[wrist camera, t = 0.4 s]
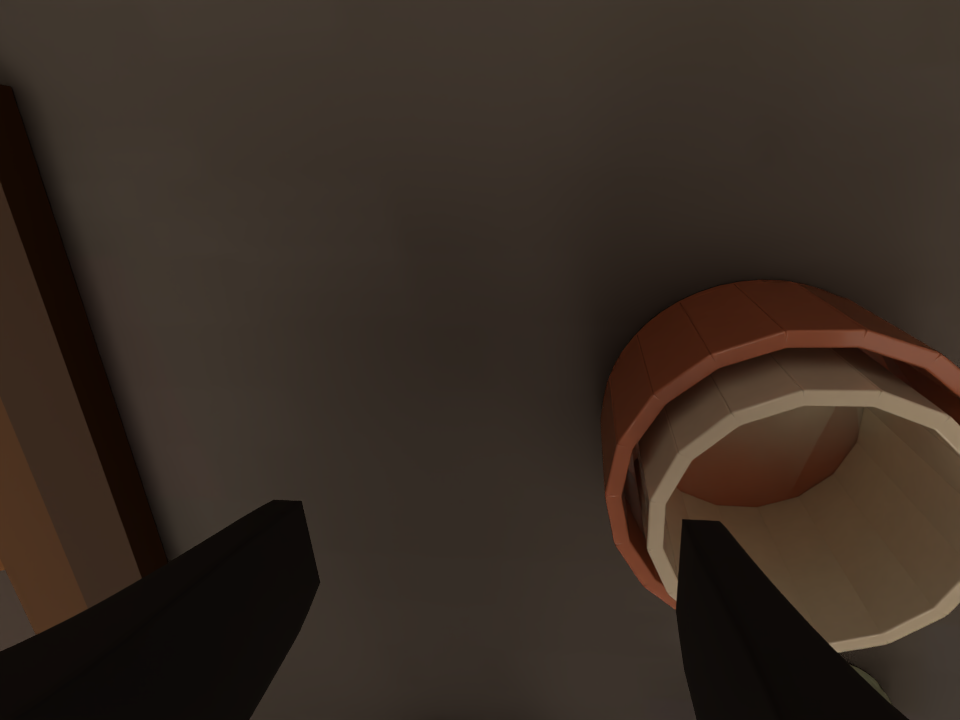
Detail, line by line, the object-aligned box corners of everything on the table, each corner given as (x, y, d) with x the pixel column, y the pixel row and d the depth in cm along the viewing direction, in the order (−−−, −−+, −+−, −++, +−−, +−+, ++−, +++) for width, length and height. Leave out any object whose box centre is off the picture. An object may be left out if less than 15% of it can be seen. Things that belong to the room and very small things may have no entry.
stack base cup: (874, 537, 19) (964, 658, 15) (598, 521, 21) (602, 626, 17) (936, 274, 16) (1079, 327, 11) (601, 283, 18) (608, 332, 13)
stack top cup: (847, 513, 19) (958, 668, 13) (626, 502, 21) (642, 639, 15) (891, 306, 16) (1053, 392, 11) (632, 310, 18) (655, 388, 12)
